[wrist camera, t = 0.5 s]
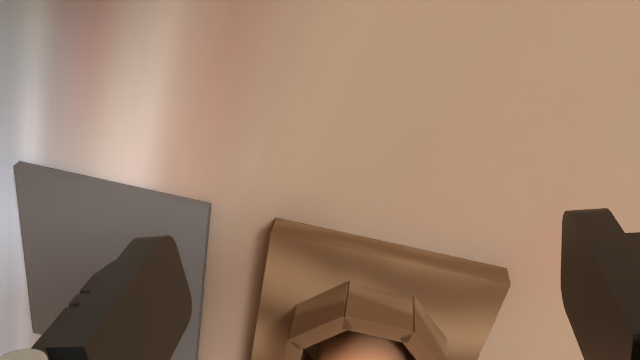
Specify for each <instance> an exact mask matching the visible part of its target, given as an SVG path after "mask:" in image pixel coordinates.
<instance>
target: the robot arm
mask: <svg viewBox="0 0 640 360" xmlns="http://www.w3.org/2000/svg"><path fill="white" fill-rule="evenodd" d="M561 292H562V299H563V304H564V308H565V311H566V314H567V316H568V319H569V321H570V324H571V327H572V329H573V332H574V334H575V337H576V339H577V342H578V344H579V347H580V349H581V352H582V355H583V357H584V360H640V232H639V233H625V232H624V231H623V229H622V228H621V226H620V225H619V223H618V222H617V220H616V219H615V217H614V216H613V214H612V213H611V212H610V210H609V209H607V208H602V209H587V210H571V211H565V212H564V215H563V221H562V250H561ZM191 313H192V297H191V292H190V289H189V286H188V282H187V279H186V275H185V272H184V268H183V265H182V262H181V258H180V255H179V251H178V248H177V245H176V242H175V240H174V239H173V238H172V237H171V236H169V235H163V236H147V237H136V238H134V239H133V240H132V241H131V242H130V243H129V244H128V246H127V247H126V248H125V249H124V251H123V252H122V253H121V254H120V256H119V257H118V258H117V259H116V260H115V261H112V262H111V263H109V264H108V265H106V266H105V267H104V268H102V269H101V270H99V271H98V272H96V273H95V274H94V275H92V277H91V278H90V279H89V280H88V281H87V282H86V284H85V285H84V286H83V287H82V288H81V290H80V293H79V294H76V296H75V297H74V298H73V299H72V300H71V301H70V303H69V306H68V307H65V309H64V310H63V311H62V312H61V313H60V314H59V316H58V317H57V318H56V319H55V320H54V322H53V323H52V324H51V325H50V326H49V328H48V329H47V330H46V331H45V332H44V333H43V335H42V336H41V337H40V338H39V339H38V341H37V342H36V343H35V344H34V345H33V346H32V348H31V349H22V350H17V351H13V352H10V353H7V354H4V355H2V356H0V360H170V359H171V357H172V355H173V353H174V351H175V349H176V347H177V345H178V343H179V341H180V339H181V338H182V336H183V334H184V332H185V330H186V328H187V326H188V324H189V322H190V318H191Z"/></svg>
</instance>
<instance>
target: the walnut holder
mask: <svg viewBox="0 0 640 360" xmlns="http://www.w3.org/2000/svg"><path fill="white" fill-rule="evenodd" d="M510 285H511V284H510V280H509V276H508V272H507V268H502V267H498V266H493V265H489V264H484V263H479V262H475V261H470V260H466V259H461V258H457V257H452V256H448V255H443V254H439V253H434V252H430V251H425V250H420V249H416V248H411V247H407V246H402V245H398V244H393V243H389V242H384V241H380V240H375V239H370V238H366V237H361V236H357V235H352V234H348V233H343V232H339V231H334V230H330V229H325V228H321V227H316V226H311V225H307V224H302V223H298V222H293V221H289V220H284V219H280V218H276V220H275V222H274V225H273V228H272V231H271V235H270V242H269V248H268V254H267V261H266V267H265V273H264V280H263V286H262V292H261V299H260V305H259V312H258V318H257V324H256V331H255V337H254V343H253V350H252V356H251V360H318V356H319V350H320V345H321V341H323V340H326V339H328V338H330V337H333V336H335V335H338V334H340V333H342V332H345V331H347V330H349V331H354V332H358V333H363V334H367V335H371V336H376V337H380V338H385V339H389V340H394V341H398V342H403V344H404V345H405V346H406V347H407V349H408V350H409V360H477V359H478V357H479V355H480V352H481V350H482V348H483V346H484V343H485V341H486V339H487V337H488V335H489V332H490V330H491V328H492V326H493V323H494V321H495V319H496V317H497V314H498V312H499V310H500V308H501V305H502V303H503V301H504V299H505V296H506V294H507V292H508V290H509V287H510Z"/></svg>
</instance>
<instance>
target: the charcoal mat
mask: <svg viewBox="0 0 640 360" xmlns="http://www.w3.org/2000/svg"><path fill="white" fill-rule="evenodd" d="M14 174H15V182H16V191H17V200H18V208H19V217H20V225H21V234H22V242H23V251H24V260H25V268H26V277H27V285H28V294H29V302H30V311H31V319H32V328H33V333H37V334H41V335H43V333H44V332H45V331H46V330H47V329H48V328H49V326H50V325H51V324H52V323H53V322H54V320H55V319H56V318H57V317H58V316H59V314H60V313H61V312H62V311H63V310H64V309H65V307H68V306H69V303H70V301H71V300H72V299H73V298H74V297H75V296H76V294H79V293H80V290H81V288H82V287H83V286H84V285H85V284H86V282H87V281H88V280H89V279H90V278H91V277H92V275H94V274H95V273H96V272H98V271H99V270H101V269H102V268H104V267H105V266H106V265H108V264H109V263H111V262H112V261H115V260H116V259H117V258H118V257H119V256H120V254H121V253H122V252H123V251H124V249H125V248H126V247H127V246H128V244H129V243H130V242H131V241H132V240H133V239H134V238H136V237H147V236H163V235H169V236H171V237H172V238H173V239H174V240H175V242H176V245H177V248H178V251H179V255H180V258H181V262H182V265H183V268H184V272H185V275H186V279H187V282H188V286H189V289H190V292H191V297H192V313H191V318H190V322H189V324H188V326H187V328H186V330H185V332H184V334H183V336H182V338H181V339H180V341H179V343H178V345H177V347H176V349H175V351H174V353H173V355H172V357H171V359H170V360H197V359H198V348H199V336H200V325H201V314H202V303H203V291H204V280H205V269H206V258H207V246H208V235H209V224H210V213H211V203H207V202H202V201H198V200H193V199H189V198H184V197H180V196H175V195H171V194H166V193H162V192H157V191H152V190H148V189H143V188H139V187H134V186H130V185H125V184H121V183H116V182H112V181H107V180H103V179H98V178H93V177H89V176H84V175H80V174H75V173H71V172H66V171H62V170H57V169H53V168H48V167H43V166H39V165H34V164H30V163H25V162H21V161H19V162H18V163H16V164H15V165H14Z"/></svg>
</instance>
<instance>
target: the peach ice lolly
mask: <svg viewBox="0 0 640 360" xmlns="http://www.w3.org/2000/svg"><path fill="white" fill-rule="evenodd" d="M318 360H409V350H408V349H407V347H406V346H405V345H404V344H403V342H398V341H394V340H389V339H385V338H380V337H376V336H371V335H367V334H363V333H358V332H354V331H349V330H347V331H345V332H342V333H340V334H338V335H335V336H333V337H330V338H328V339H326V340H323V341H321V345H320V350H319V356H318Z"/></svg>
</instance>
